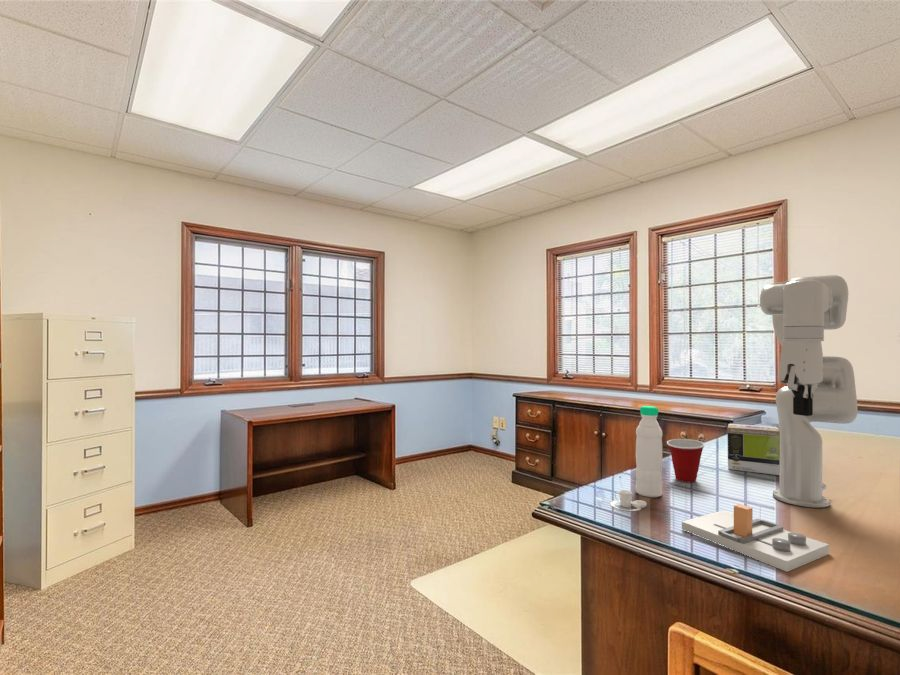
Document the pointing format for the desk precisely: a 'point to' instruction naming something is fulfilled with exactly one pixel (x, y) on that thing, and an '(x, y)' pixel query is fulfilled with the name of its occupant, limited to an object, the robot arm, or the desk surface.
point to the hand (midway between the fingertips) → (802, 414)
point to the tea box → (753, 448)
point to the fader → (742, 520)
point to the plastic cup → (685, 458)
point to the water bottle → (649, 454)
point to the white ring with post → (628, 501)
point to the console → (759, 540)
